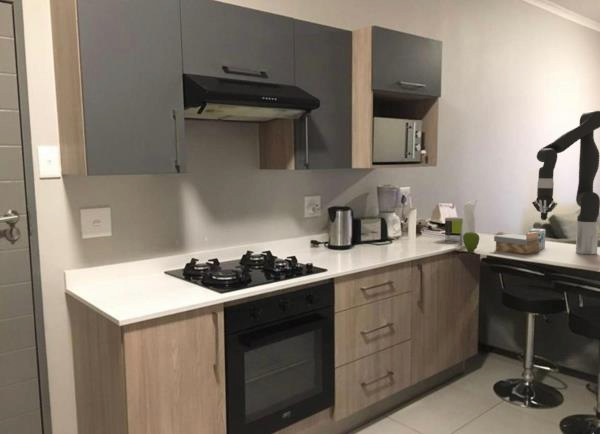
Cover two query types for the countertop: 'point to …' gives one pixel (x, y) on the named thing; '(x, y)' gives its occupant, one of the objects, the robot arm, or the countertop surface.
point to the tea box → (453, 228)
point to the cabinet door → (517, 238)
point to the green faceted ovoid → (471, 241)
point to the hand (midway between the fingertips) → (543, 219)
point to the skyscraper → (467, 220)
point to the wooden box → (519, 247)
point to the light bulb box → (541, 234)
